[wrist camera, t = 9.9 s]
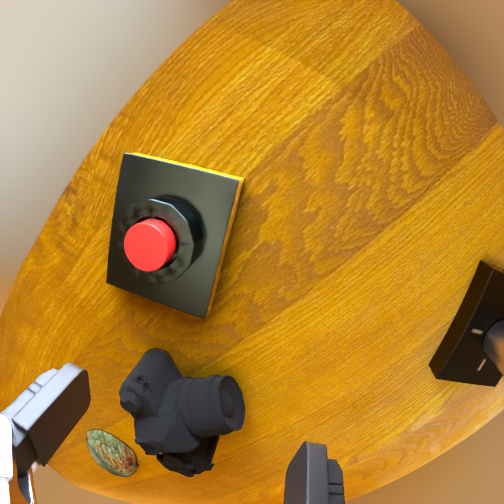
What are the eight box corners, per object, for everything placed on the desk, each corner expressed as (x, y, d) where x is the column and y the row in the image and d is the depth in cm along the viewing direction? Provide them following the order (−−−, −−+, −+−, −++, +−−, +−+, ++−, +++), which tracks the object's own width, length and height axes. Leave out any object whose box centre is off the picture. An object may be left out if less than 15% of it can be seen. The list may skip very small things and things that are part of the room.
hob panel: (480, 259, 23) (494, 269, 21) (534, 284, 23) (547, 294, 20) (428, 364, 27) (436, 380, 24) (486, 375, 26) (495, 387, 24)
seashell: (86, 441, 33) (140, 481, 34) (99, 423, 37) (150, 461, 38) (70, 449, 36) (116, 484, 38) (81, 434, 40) (125, 468, 41)
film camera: (266, 430, 32) (256, 491, 23) (194, 438, 34) (174, 491, 25) (211, 327, 29) (180, 388, 20) (134, 345, 31) (92, 396, 22)
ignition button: (138, 213, 23) (127, 217, 21) (180, 225, 22) (171, 231, 21) (132, 256, 24) (121, 263, 22) (172, 269, 23) (163, 277, 22)
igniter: (136, 152, 25) (111, 152, 21) (244, 178, 24) (235, 181, 20) (117, 275, 29) (95, 290, 25) (211, 308, 28) (199, 330, 24)
